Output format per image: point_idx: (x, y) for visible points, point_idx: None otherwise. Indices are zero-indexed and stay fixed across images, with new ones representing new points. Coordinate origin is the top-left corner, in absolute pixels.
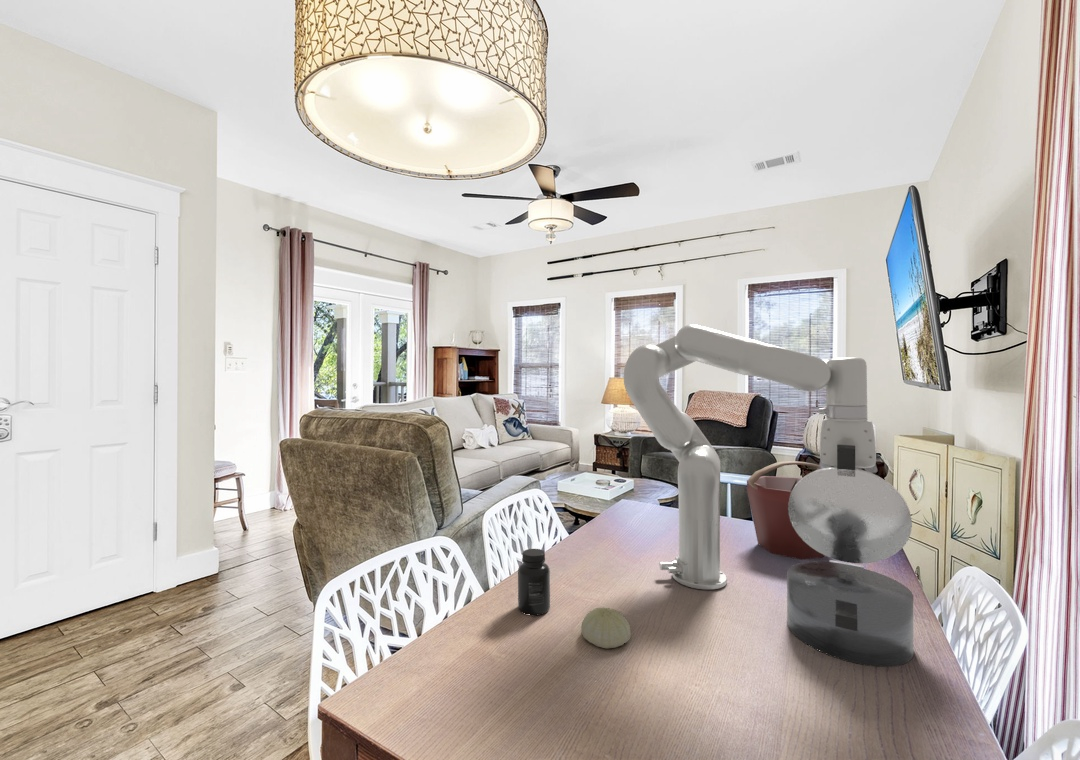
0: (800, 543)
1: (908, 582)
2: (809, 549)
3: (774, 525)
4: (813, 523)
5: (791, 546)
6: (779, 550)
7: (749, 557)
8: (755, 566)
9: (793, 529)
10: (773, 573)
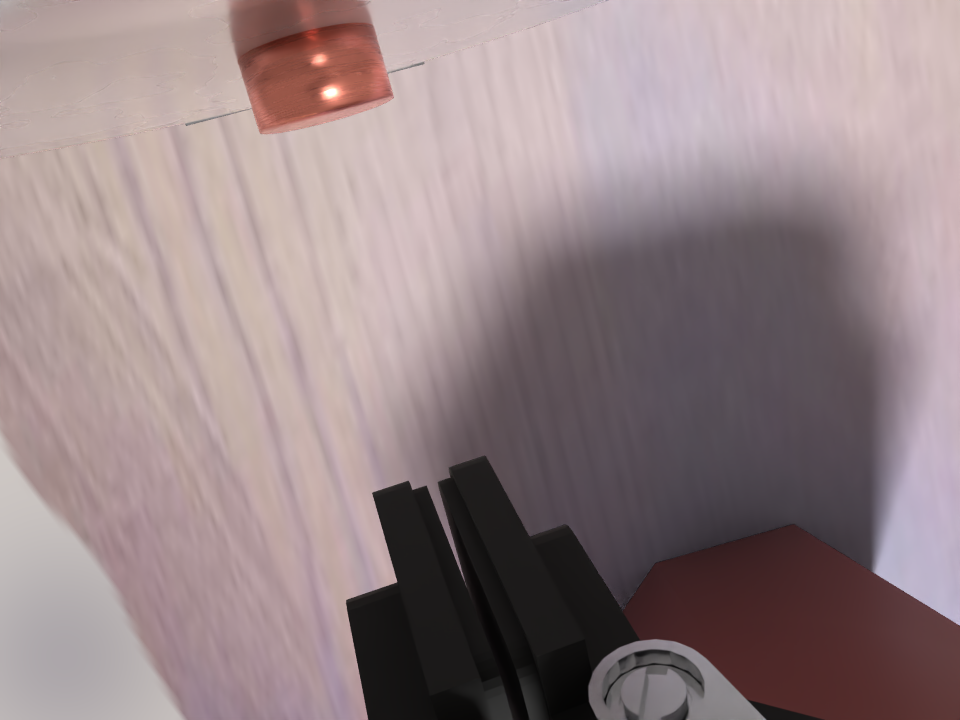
0: (698, 608)
1: (178, 687)
2: (645, 631)
3: (881, 614)
4: None
5: (729, 581)
6: (768, 547)
7: (871, 382)
8: (821, 285)
9: (775, 643)
10: (724, 266)
